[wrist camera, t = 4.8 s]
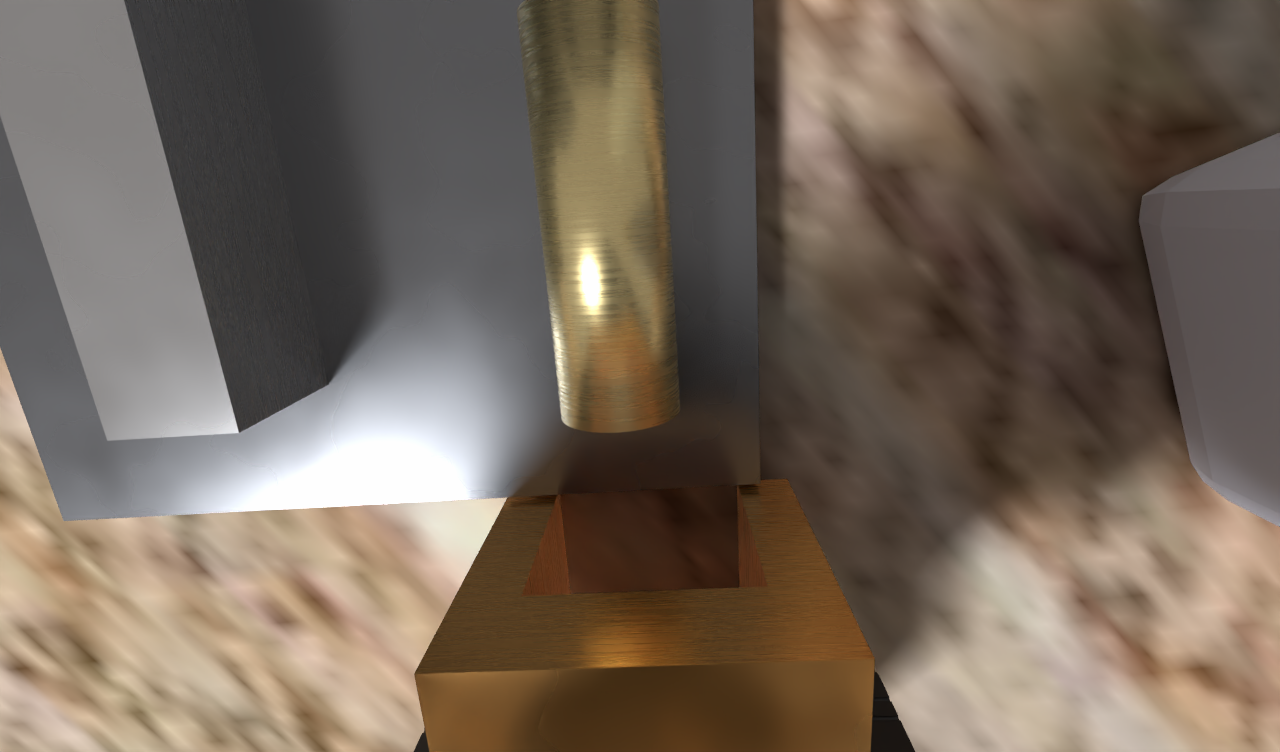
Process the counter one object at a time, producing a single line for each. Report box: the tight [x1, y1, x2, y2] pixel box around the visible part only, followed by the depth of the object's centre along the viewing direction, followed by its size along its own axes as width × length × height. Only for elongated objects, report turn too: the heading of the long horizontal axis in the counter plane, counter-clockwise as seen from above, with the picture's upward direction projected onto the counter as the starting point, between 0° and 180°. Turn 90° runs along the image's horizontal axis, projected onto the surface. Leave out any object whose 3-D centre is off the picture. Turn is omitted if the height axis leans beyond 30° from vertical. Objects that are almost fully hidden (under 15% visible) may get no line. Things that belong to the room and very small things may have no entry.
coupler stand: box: [0, 0, 761, 521], centre depth 7 cm, size 14×16×7 cm
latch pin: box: [517, 0, 680, 433], centre depth 9 cm, size 2×6×2 cm, turn 4°
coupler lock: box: [414, 479, 875, 752], centre depth 11 cm, size 6×8×5 cm
